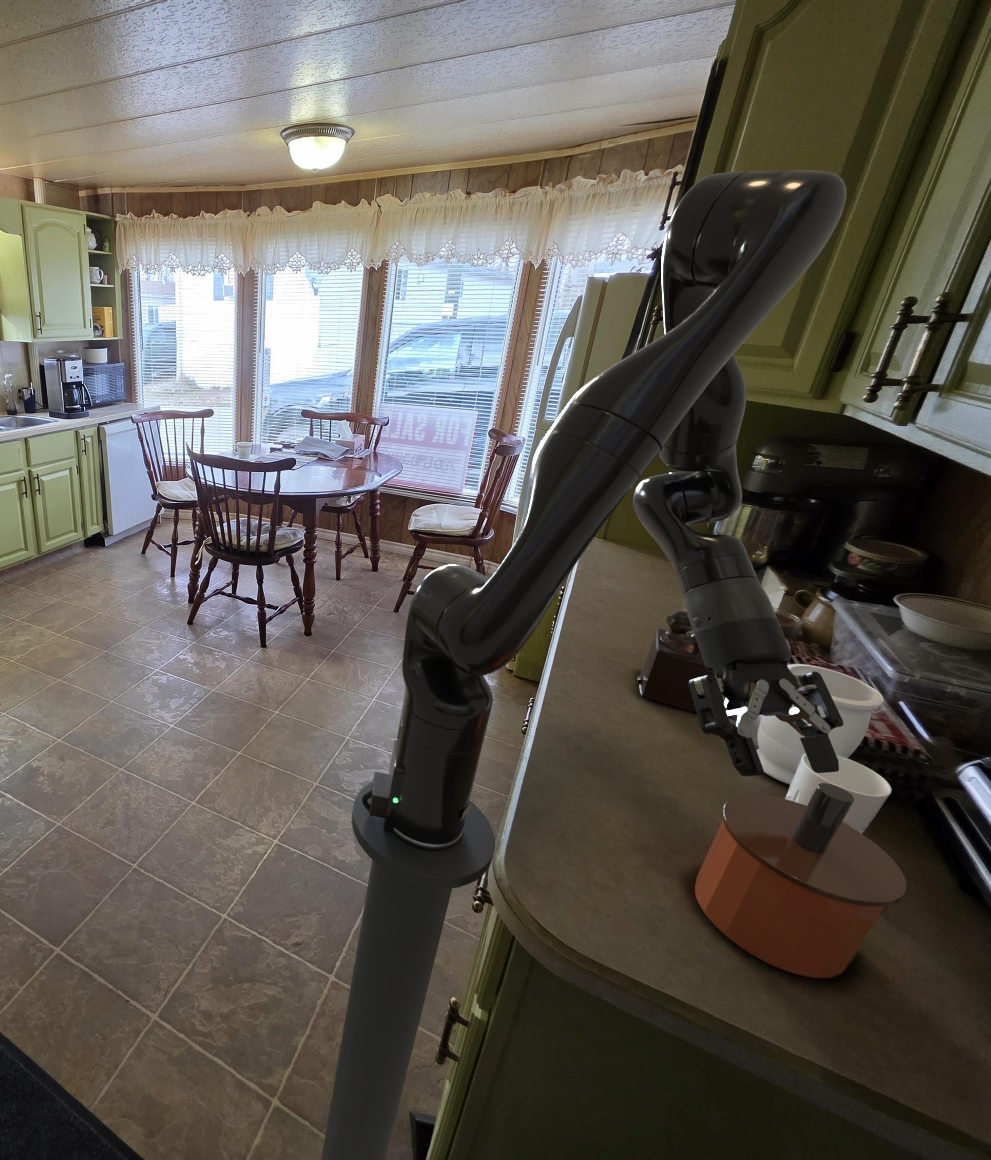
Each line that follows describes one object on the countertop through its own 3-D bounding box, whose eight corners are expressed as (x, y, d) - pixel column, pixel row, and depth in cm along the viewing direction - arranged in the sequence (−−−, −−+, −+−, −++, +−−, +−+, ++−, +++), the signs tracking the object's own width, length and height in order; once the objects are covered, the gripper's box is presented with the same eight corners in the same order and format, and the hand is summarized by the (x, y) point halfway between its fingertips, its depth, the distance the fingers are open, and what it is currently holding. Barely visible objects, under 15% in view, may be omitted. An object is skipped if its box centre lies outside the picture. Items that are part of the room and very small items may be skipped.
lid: (759, 889, 58) (791, 827, 55) (697, 790, 70) (720, 735, 67) (941, 928, 54) (986, 865, 51) (842, 818, 67) (874, 761, 64)
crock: (726, 957, 62) (765, 882, 58) (676, 859, 73) (705, 790, 69) (880, 994, 59) (933, 918, 55) (803, 886, 70) (842, 816, 66)
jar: (840, 807, 82) (892, 714, 76) (743, 774, 88) (784, 685, 82) (829, 766, 90) (875, 679, 84) (741, 738, 96) (778, 655, 90)
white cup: (857, 837, 77) (893, 775, 73) (851, 871, 72) (890, 806, 68) (776, 803, 82) (806, 743, 78) (766, 832, 77) (797, 770, 74)
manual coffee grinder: (636, 670, 114) (666, 582, 107) (709, 689, 108) (746, 597, 101) (634, 710, 102) (669, 613, 95) (717, 734, 96) (759, 633, 89)
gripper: (703, 615, 65) (760, 774, 59) (823, 613, 66) (891, 768, 60) (651, 636, 72) (697, 779, 66) (760, 633, 73) (816, 774, 67)
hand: (790, 774), depth 63 cm, fingers open, 8 cm apart
